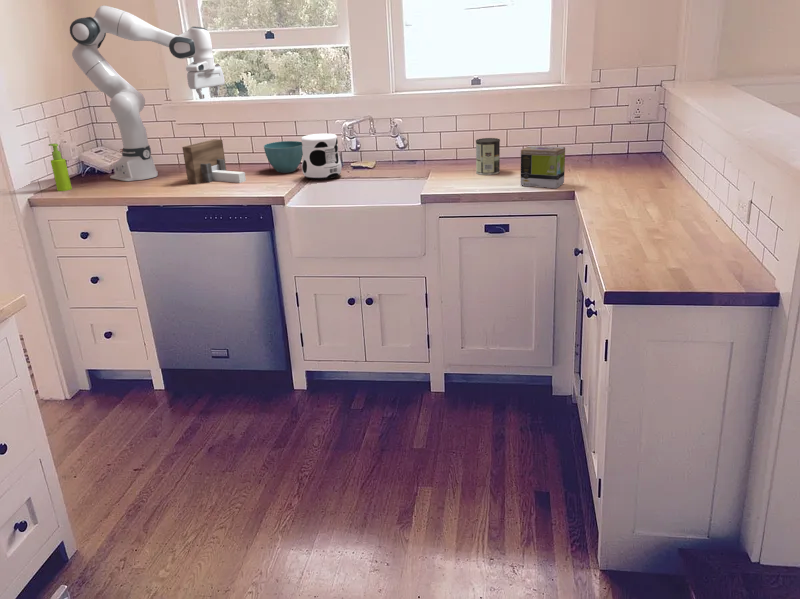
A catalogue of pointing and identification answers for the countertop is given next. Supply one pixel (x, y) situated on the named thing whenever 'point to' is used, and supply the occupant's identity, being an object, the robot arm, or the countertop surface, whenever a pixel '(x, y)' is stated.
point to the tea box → (542, 166)
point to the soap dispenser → (60, 170)
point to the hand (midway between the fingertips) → (209, 97)
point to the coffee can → (488, 156)
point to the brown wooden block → (203, 160)
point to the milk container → (320, 156)
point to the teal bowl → (284, 155)
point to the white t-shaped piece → (227, 175)
